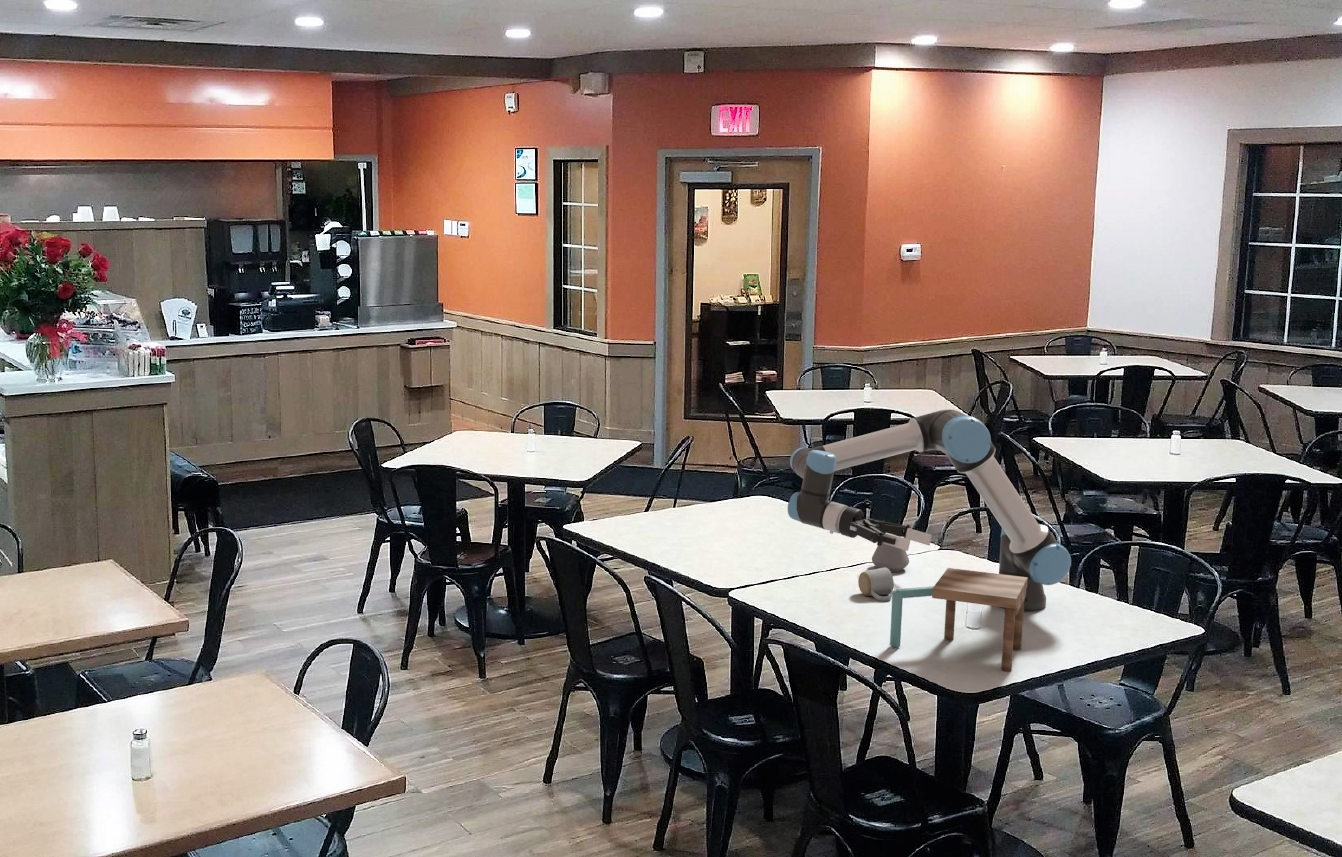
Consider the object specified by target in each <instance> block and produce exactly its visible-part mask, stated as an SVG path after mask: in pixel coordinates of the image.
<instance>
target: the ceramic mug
mask: <svg viewBox="0 0 1342 857" xmlns="http://www.w3.org/2000/svg"><path fill="white" fill-rule="evenodd" d="M894 581H895V580H894V578H893V574H892V572H890V570H889V569H888V568H879V569H878V568H875V569H870V570H869V569H867V570H864V571H862V572H861V573H860V574H859V575H858V582H857V583H858V588H859V591H860V592H861V593H862V595H864V596H867V597H873V598H875V599H876V600H877V601H881V602H888V601H890V600H892V591H894V587H895V585H894V583H895V582H894ZM886 595H888V596H886Z"/></svg>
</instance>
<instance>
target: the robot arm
mask: <svg viewBox="0 0 1342 857" xmlns="http://www.w3.org/2000/svg"><path fill="white" fill-rule="evenodd" d="M991 438H992V437H991V434H990V431H989V429H988V428H987V427H986V425H985V424H984V423H983V422H982V421H981V420H980V419H978V418H976V417H975V416H970V415H967V414H965V413H963V412H961V411H958V410H955V409H942V410H938V411H934V412H933V411H932V412H931V413H930V412H929V413H926V414H923V415H919V416H914V417H911V418H910V419H909V421H908V422H907V423H904V424H899V425H896V426H891V427H889V428H885V429H884V428H883V429H880V430H877V431H872V432H870V433H866V434H863V435H859V436H854V437H851V438H847V439H843V440H840V441H839V440H838V441H836V442H832V443H829V444H828V443H827V444H825V445H824V444H823V445H821V446H816V447H812V448H809V447H800V448H797V449H795V450H794V451H793V452H792V453H791V456H790V459H789V465H790V467H791V470H792V471H793V472H794V473H795V475H797V476H799V477H800V478H801V479H802V484H801V488H800V491H797V492H794V493H793V494H792V495H791V496H790V498H789V501H788V503H787V514H788V516H789V517H790V519H792V520H794V521H797V522H800V523H802V524H804V525H809V526H813V527H816V528H818V529H819V528H820V529H823V530H827V531H829V533H830V534H834V533H836V534H840V535H842V536H845V537H848V538H852V539H855V538H857V537H860V538H863V539H865V540H866V541H869V542H871V543H873V544H876V545H877V546H882V542H883V544H886V545H890V546H893V547H896V548H899V549H903V550H906V552H907V551H909V548H910V544H911V541H912V542H915V543H919V544H922V545H926V546H930V545H931V541H932V536H933V535H932V534H930V533H926V532H925V533H924V531H920V530H916V529H913V528H911V525H910V524H906V525H903V524H899V523H898V524H897V523H894V522H890V521H884V520H879V519H876V518H867V519H865V517H864V516H865V515H864V512H863V511H862V509H859V508H856V507H853V506H852V507H851V506H848V505H846V504H842V503H839V502H836V501H832V500H829V498H830V493H831V488H832V484H833V479H834V474H835V472H836V471H839V470H844V469H847V468H852V467H854V466H859V465H863V464H866V463H871V462H874V461H878V460H881V459H885V458H889V457H892V456H897V455H901V454H905V453H909V452H912V451H917V452H918V453H923V452H928V451H938V452H939V451H941V452H942V453H943V454H945V455H946V457H947V458H948V460H949V462H951V464H952V465H953V467H954V468H955V469H956V471H957V473H960V474H965V475H966V476H967V477H968V479H969V481H970V482H971V484H972V485H973V487H974V488H975V489H976V491H977V493H978V494H979V496H980V497H981V498H982V500H983V502H984V503H985V504H986V506H987V508H988V509H989V510H990V512H991V513H992V514H993V517H995V519H996V521H997V522H998V523H999V525H1000V527H1001V533H1000V545H999V565H998V574H1003V575H1011V576H1020V577H1028V580H1027V588H1026V597H1025V599H1024V612H1026V611H1037V610H1039V611H1040V610H1043V609H1045V607H1046V606H1047V597H1046V596H1047V595H1046V594H1045V591H1044V586H1053V585H1055V584H1058V583H1060V582H1062V581H1063V580H1064V578H1066V576H1067V575H1068V574H1069V572H1070V569H1071V566H1072V558H1071V555H1070V553H1069V551H1068V549H1067V548H1066V547H1064V545H1063V544H1059V542H1058V541H1057V540H1056V538H1055V536H1054V535H1053V534H1052V532H1051V531H1050V528H1049V527H1048V526H1047V525H1045V524H1040V523H1038V521H1037V519H1036V518H1035V517H1034V515H1033V513H1032V512H1031V510H1030V509H1029V507H1028V506H1027V504H1026V503H1025V501H1024V500H1023V499H1022V497H1021V495H1020V494H1019V493H1018V491H1017V489H1016V488H1015V486H1014V485H1013V483H1012V482H1011V481H1010V478H1009V477H1008V475H1007V474H1006V473H1005V471H1004V469H1003V468H1002V467H1001V465H1000V464H999V462H998V461H997V459H996V458H995V454H996V447H995V445H994V444H993V442H992V439H991ZM884 534H885V535H884ZM899 536H900V537H899ZM903 537H905V538H903ZM1002 608H1003V609H1005V607H1002Z"/></svg>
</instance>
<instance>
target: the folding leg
mask: <svg viewBox="0 0 1342 857" xmlns="http://www.w3.org/2000/svg"><path fill="white" fill-rule="evenodd" d="M934 586H935V585H931V586H922V587H921V586H917V587H907V588H906V587H904V588H897V589H895V590H893V591H892V597H891V613H890V615H891V616H890V617H891V618H890V630H889V631H890V632H889V633H890V634H889V636H890V637H889V646H890V647H892V648H899V647H901V638H902V621H903V620H902V618H903V599H910V598H922V597H924V598H925V597H932V591H933V587H934Z"/></svg>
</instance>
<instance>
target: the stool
mask: <svg viewBox="0 0 1342 857" xmlns="http://www.w3.org/2000/svg"><path fill="white" fill-rule="evenodd" d="M1027 580H1028V577H1020V576H1011V575H1003V574H999V573H994V572H985V571H975V570H970V569H969V570H968V569H960V568H953V567H947V568H946V570H945V571H944V573H943V574H942V575H941V576H940V578H939V579H938V581H936V583H934V585H933V586H934V587H933V591H932V596H931V598H932V599H938V600H944V601H945V616H944V631H943V632H944V633H943V634H944V635H943V636H944V637H943V639H944V640H945V641H950V642H951V641H954V639H955V638H954V636H955V623H956V622H955V620H956V602H961V603H968V604H975V605H985V606H990V607H999V608H1003V607H1005V608H1004V619H1003V620H1004V622H1003V636H1002V652H1001V669H1000V670H1001V671H1002V672H1007V673H1008V672H1012V669H1013V668H1012V667H1013V652H1014V651H1021V650H1022V640H1023V624H1024V623H1023V622H1024V612H1025V611H1024V599H1025V597H1026V588H1027Z"/></svg>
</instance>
